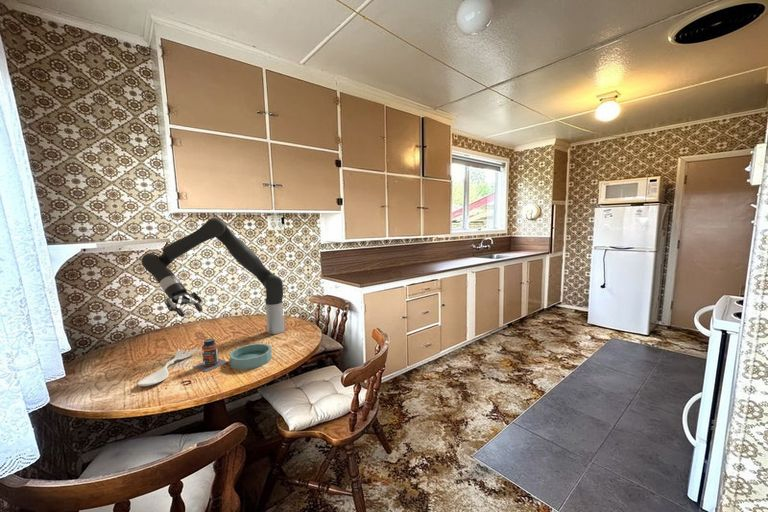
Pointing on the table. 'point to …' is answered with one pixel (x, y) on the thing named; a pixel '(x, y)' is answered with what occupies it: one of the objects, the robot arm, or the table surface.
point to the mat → (206, 369)
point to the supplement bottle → (209, 353)
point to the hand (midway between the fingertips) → (192, 313)
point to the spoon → (164, 369)
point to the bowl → (250, 356)
